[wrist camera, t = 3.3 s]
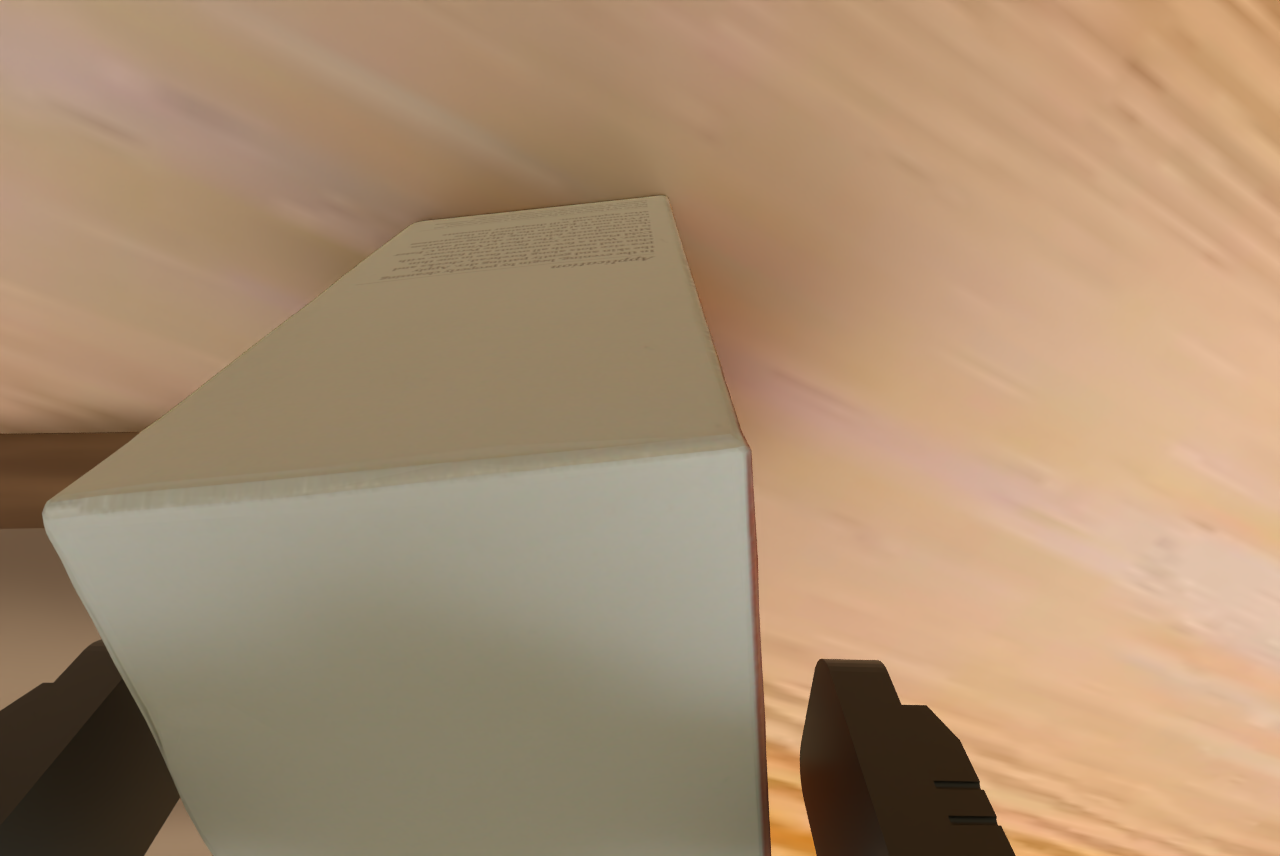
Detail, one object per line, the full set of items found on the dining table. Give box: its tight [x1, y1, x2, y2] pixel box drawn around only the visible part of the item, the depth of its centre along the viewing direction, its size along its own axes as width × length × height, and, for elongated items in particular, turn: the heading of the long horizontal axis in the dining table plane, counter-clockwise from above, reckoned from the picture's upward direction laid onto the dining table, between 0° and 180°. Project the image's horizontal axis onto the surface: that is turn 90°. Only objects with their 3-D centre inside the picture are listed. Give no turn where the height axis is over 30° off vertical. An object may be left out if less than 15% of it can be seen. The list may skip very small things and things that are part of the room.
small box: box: [42, 195, 771, 856], centre depth 14 cm, size 8×6×13 cm
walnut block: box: [0, 432, 213, 856], centre depth 22 cm, size 15×12×5 cm
